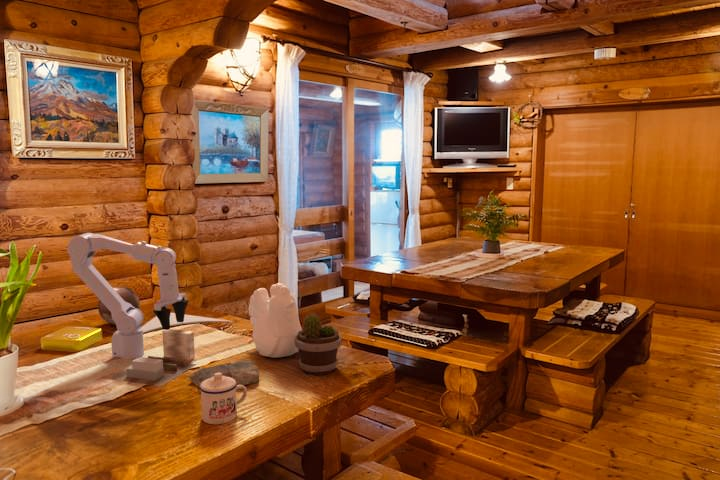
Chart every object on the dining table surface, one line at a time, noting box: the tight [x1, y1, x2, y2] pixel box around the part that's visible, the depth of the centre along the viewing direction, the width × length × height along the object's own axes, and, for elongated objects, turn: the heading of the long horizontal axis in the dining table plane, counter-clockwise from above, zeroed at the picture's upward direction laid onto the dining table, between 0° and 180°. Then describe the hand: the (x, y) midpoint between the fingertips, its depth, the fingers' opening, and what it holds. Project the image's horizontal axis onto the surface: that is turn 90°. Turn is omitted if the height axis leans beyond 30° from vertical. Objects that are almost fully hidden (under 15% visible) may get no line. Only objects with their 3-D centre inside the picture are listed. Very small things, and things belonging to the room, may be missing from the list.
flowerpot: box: [294, 310, 343, 376], centre depth 175 cm, size 14×15×20 cm
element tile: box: [40, 325, 103, 353], centre depth 200 cm, size 15×15×5 cm
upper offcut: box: [131, 356, 163, 372], centre depth 168 cm, size 8×4×2 cm, turn 73°
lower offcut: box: [125, 365, 164, 381], centre depth 168 cm, size 10×4×2 cm, turn 73°
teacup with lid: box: [199, 373, 248, 425], centre depth 144 cm, size 12×9×12 cm
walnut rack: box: [108, 355, 197, 387], centre depth 172 cm, size 18×18×3 cm
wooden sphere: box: [97, 286, 141, 326], centre depth 223 cm, size 15×15×15 cm
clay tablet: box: [188, 360, 260, 390], centre depth 167 cm, size 14×5×20 cm
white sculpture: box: [248, 282, 303, 358], centre depth 191 cm, size 25×16×25 cm, turn 31°
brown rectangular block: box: [162, 328, 196, 361], centre depth 184 cm, size 10×2×9 cm, turn 73°
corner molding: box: [141, 312, 233, 335], centre depth 216 cm, size 30×2×30 cm
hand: (173, 325), depth 187 cm, fingers open, 7 cm apart
